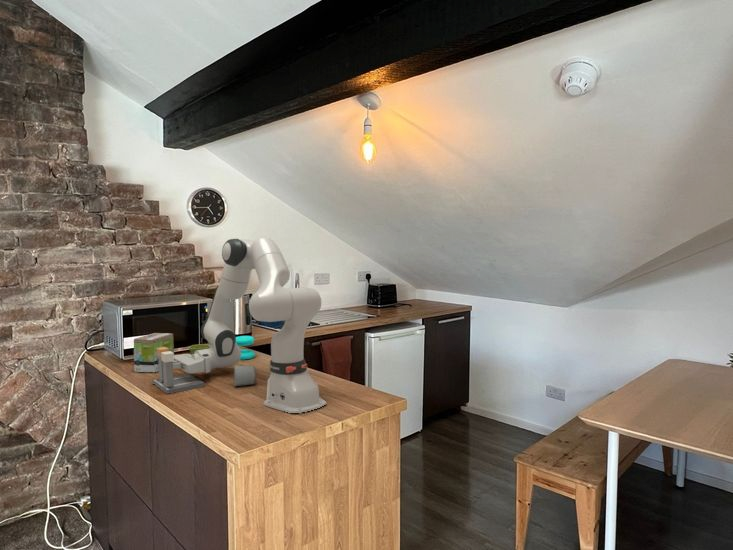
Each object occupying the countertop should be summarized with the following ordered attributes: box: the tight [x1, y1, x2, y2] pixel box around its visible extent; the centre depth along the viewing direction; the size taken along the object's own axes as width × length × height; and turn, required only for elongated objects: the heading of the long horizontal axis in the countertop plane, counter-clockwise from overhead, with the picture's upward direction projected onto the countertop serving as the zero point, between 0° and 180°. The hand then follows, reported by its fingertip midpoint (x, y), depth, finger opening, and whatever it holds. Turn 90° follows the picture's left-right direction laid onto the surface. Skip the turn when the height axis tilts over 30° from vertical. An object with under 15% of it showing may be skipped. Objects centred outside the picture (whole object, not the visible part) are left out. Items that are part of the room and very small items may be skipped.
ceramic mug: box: [233, 365, 257, 387], centre depth 187 cm, size 11×8×8 cm
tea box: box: [133, 332, 175, 373], centre depth 210 cm, size 15×10×15 cm, turn 171°
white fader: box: [161, 351, 175, 387], centre depth 178 cm, size 4×3×12 cm
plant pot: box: [187, 343, 210, 355], centre depth 215 cm, size 9×9×9 cm
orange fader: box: [157, 347, 169, 382], centre depth 186 cm, size 4×3×12 cm
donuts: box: [236, 335, 256, 361], centre depth 228 cm, size 10×10×10 cm
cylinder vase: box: [206, 300, 235, 348], centre depth 242 cm, size 12×12×25 cm
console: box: [151, 372, 206, 395], centre depth 186 cm, size 18×14×2 cm
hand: (166, 366), depth 187 cm, fingers closed, pressing on orange fader
